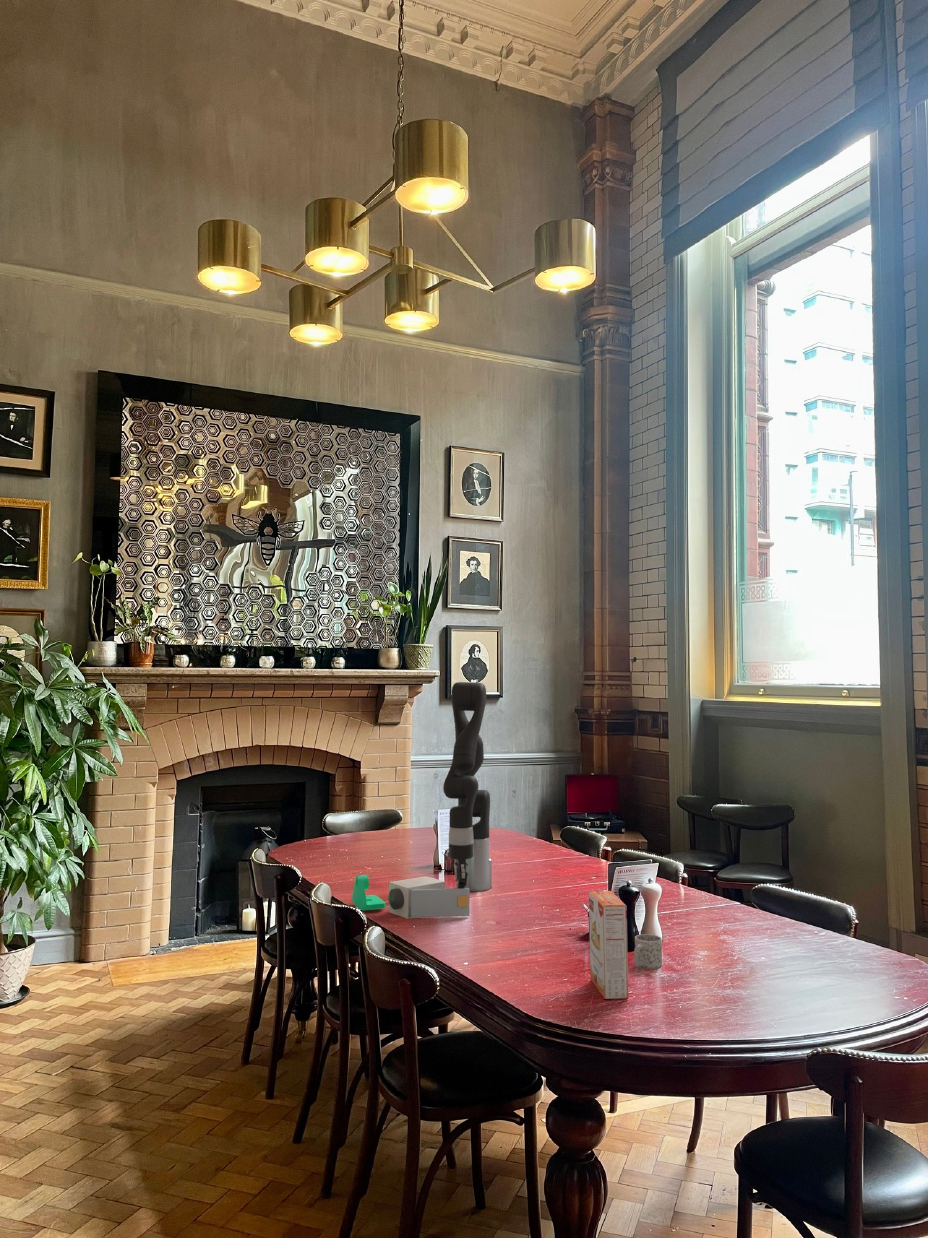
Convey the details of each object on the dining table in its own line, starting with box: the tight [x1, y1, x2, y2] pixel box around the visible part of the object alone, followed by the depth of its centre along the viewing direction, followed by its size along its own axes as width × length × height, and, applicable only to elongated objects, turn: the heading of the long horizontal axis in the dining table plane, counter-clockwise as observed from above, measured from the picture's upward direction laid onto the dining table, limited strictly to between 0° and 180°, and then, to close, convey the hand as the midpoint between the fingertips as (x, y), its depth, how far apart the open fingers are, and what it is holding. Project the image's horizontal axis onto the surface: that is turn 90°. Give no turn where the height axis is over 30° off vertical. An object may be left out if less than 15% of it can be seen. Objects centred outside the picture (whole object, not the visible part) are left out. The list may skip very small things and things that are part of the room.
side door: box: [409, 887, 470, 919], centre depth 274 cm, size 18×2×8 cm, turn 97°
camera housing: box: [388, 875, 446, 920], centre depth 282 cm, size 16×10×9 cm, turn 129°
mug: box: [633, 933, 663, 970], centre depth 229 cm, size 10×7×7 cm, turn 141°
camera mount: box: [351, 874, 386, 912], centre depth 287 cm, size 12×8×10 cm, turn 22°
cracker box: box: [588, 890, 629, 1000], centre depth 212 cm, size 14×6×21 cm, turn 5°
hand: (461, 899), depth 279 cm, fingers closed
